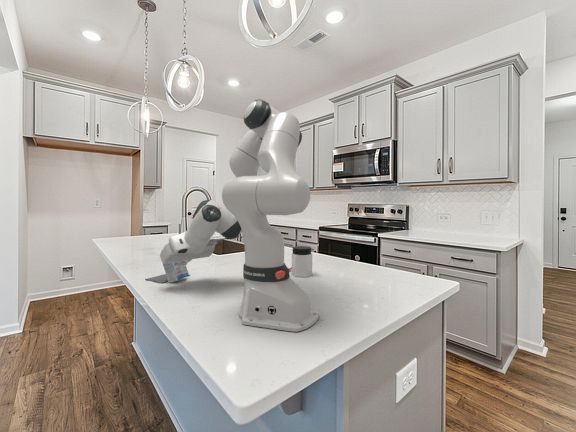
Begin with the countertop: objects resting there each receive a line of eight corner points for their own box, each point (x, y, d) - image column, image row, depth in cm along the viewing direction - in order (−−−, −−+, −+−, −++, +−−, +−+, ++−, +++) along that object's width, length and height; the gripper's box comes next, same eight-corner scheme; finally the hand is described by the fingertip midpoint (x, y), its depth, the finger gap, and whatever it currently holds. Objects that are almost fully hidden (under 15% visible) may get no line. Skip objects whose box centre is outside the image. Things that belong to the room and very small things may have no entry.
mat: (190, 275, 126) (190, 274, 126) (162, 283, 114) (162, 282, 114) (173, 272, 131) (173, 271, 131) (145, 280, 119) (145, 279, 119)
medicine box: (178, 281, 114) (171, 259, 113) (168, 283, 115) (161, 261, 114) (189, 274, 121) (182, 254, 121) (179, 276, 122) (173, 256, 122)
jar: (300, 271, 135) (300, 245, 134) (315, 274, 130) (315, 247, 129) (287, 275, 128) (288, 247, 127) (303, 278, 123) (303, 249, 122)
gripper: (215, 232, 118) (202, 254, 125) (165, 237, 103) (153, 261, 110) (222, 245, 116) (208, 266, 123) (171, 251, 100) (159, 275, 108)
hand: (181, 263), depth 116 cm, fingers closed
